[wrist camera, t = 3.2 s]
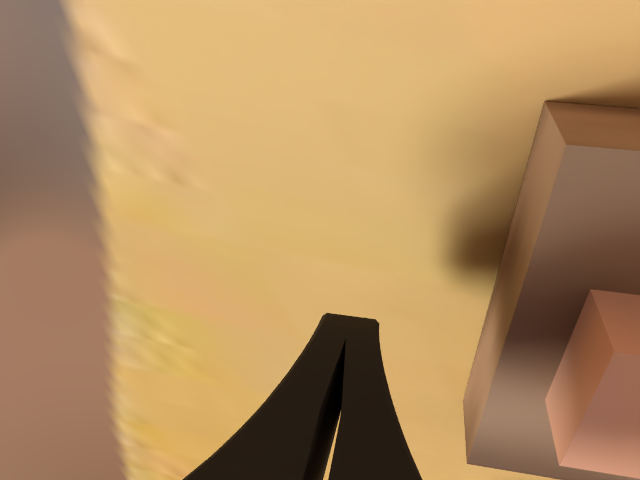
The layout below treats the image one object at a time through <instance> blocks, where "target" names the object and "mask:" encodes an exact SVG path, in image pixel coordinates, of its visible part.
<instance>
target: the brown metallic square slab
mask: <svg viewBox="0 0 640 480" xmlns="http://www.w3.org/2000/svg"><path fill="white" fill-rule="evenodd" d="M590 289H593V290H602V291H610V292H618V293H626V294H635V295H640V109H638V108H625V107H612V106H599V105H586V104H574V103H561V102H548V101H544V105H543V109H542V112H541V116H540V120H539V123H538V127H537V131H536V134H535V138H534V142H533V146H532V149H531V153H530V157H529V160H528V164H527V168H526V171H525V175H524V179H523V182H522V186H521V190H520V193H519V197H518V201H517V204H516V208H515V212H514V215H513V219H512V223H511V226H510V230H509V234H508V237H507V241H506V245H505V248H504V252H503V256H502V260H501V263H500V267H499V271H498V274H497V278H496V282H495V285H494V289H493V293H492V296H491V300H490V304H489V307H488V311H487V315H486V318H485V322H484V326H483V329H482V333H481V337H480V340H479V344H478V348H477V351H476V355H475V359H474V363H473V366H472V370H471V374H470V377H469V381H468V385H467V388H466V392H465V396H464V399H463V406H464V422H465V439H466V456H467V464H471V465H477V466H483V467H489V468H495V469H501V470H507V471H513V472H519V473H525V474H531V475H537V476H543V477H549V478H555V479H561V480H640V479H638V478H632V477H626V476H620V475H614V474H608V473H602V472H595V471H589V470H583V469H577V468H571V467H565V466H559V462H558V458H557V453H556V448H555V444H554V439H553V435H552V430H551V425H550V421H549V416H548V411H547V407H546V402H545V399H546V396H547V394H548V392H549V389H550V387H551V384H552V382H553V379H554V377H555V374H556V372H557V370H558V367H559V365H560V362H561V360H562V357H563V355H564V352H565V350H566V348H567V345H568V343H569V340H570V338H571V335H572V333H573V330H574V328H575V326H576V323H577V321H578V318H579V316H580V313H581V311H582V308H583V306H584V304H585V301H586V299H587V296H588V294H589V291H590Z"/></svg>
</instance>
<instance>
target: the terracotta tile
mask: <svg viewBox="0 0 640 480" xmlns="http://www.w3.org/2000/svg"><path fill="white" fill-rule="evenodd" d="M545 402H546V407H547V411H548V416H549V421H550V425H551V430H552V435H553V439H554V444H555V448H556V453H557V458H558V462H559V466H565V467H571V468H577V469H583V470H589V471H595V472H602V473H608V474H614V475H620V476H626V477H632V478H638V479H640V295H635V294H626V293H618V292H610V291H602V290H593V289H590V291H589V294H588V296H587V299H586V301H585V304H584V306H583V308H582V311H581V313H580V316H579V318H578V321H577V323H576V326H575V328H574V330H573V333H572V335H571V338H570V340H569V343H568V345H567V348H566V350H565V352H564V355H563V357H562V360H561V362H560V365H559V367H558V370H557V372H556V374H555V377H554V379H553V382H552V384H551V387H550V389H549V392H548V394H547V396H546V399H545Z"/></svg>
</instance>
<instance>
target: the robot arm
mask: <svg viewBox="0 0 640 480" xmlns="http://www.w3.org/2000/svg"><path fill="white" fill-rule="evenodd" d="M340 412H341V416H340ZM339 416H340V422H339V427H338V433H337V438H336V443H335V449H334V454H333V459H332V464H331V469H330V474H329V479H328V480H422V478H421V476H420V473H419V471H418V469H417V467H416V464H415V462H414V460H413V458H412V455H411V453H410V450H409V448H408V445H407V443H406V440H405V438H404V435H403V432H402V429H401V427H400V424H399V421H398V418H397V415H396V412H395V409H394V405H393V402H392V399H391V395H390V391H389V388H388V384H387V380H386V376H385V372H384V367H383V362H382V356H381V350H380V342H379V323H378V322H377V321H376V320H375V319H368V318H361V317H353V316H346V315H338V314H331V313H326V314H325V315H323V316H322V318H321V320H320V322H319V324H318V326H317V328H316V330H315V332H314V334H313V335H312V337H311V339H310V341H309V342H308V344H307V345H306V347H305V348H304V350H303V352H302V353H301V355H300V356H299V357H298V359H297V360H296V362H295V363H294V365H293V366H292V367H291V369H290V370H289V372H288V373H287V374H286V376H285V377H284V378H283V380H282V381H281V382H280V383H279V385H278V386H277V387H276V388H275V390H274V391H273V392H272V393H271V395H270V396H269V397H268V398H267V400H266V401H265V402H264V403H263V404H262V405H261V407H260V408H259V409H258V410H257V411H256V412H255V413H254V414H253V415H252V416H251V418H250V419H249V420H248V421H247V422H246V423H245V424H244V425H243V426H242V427H241V428H240V429H239V430H238V431H237V432H236V433H235V434H234V435H233V436H232V437H231V438H230V439H229V440H228V441H227V442H226V443H225V444H224V445H223V446H221V447H220V448H219V449H218V450H217V451H216V452H215V453H214V454H213V455H212V456H210V457H209V458H208V459H207V460H206V461H205V462H203V463H202V464H201V465H200V466H199V467H197V468H196V469H195V470H194V471H192V472H191V473H190V474H189V475H188V476H186V477H185V478H184V479H183V480H323V477H324V474H325V470H326V466H327V462H328V458H329V454H330V451H331V447H332V443H333V439H334V435H335V431H336V428H337V424H338V420H339Z"/></svg>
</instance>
